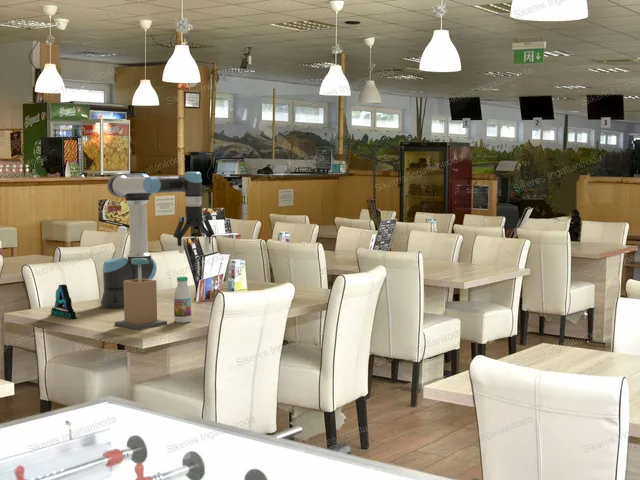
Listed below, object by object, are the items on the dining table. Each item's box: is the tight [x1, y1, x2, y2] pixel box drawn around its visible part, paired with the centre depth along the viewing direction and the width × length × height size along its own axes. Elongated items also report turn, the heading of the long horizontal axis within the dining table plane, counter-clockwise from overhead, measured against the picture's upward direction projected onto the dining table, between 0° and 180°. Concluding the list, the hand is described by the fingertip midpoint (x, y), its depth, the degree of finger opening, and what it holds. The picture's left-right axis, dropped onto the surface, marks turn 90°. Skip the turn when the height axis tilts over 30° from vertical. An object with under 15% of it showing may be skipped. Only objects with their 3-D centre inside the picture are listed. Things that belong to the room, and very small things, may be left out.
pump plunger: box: [131, 258, 149, 282], centre depth 388 cm, size 10×7×19 cm
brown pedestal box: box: [114, 278, 168, 331], centre depth 389 cm, size 16×16×20 cm
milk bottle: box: [173, 276, 193, 324], centre depth 397 cm, size 8×8×20 cm
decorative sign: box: [50, 284, 77, 320], centre depth 411 cm, size 19×2×15 cm, turn 45°
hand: (194, 252), depth 410 cm, fingers open, 13 cm apart
